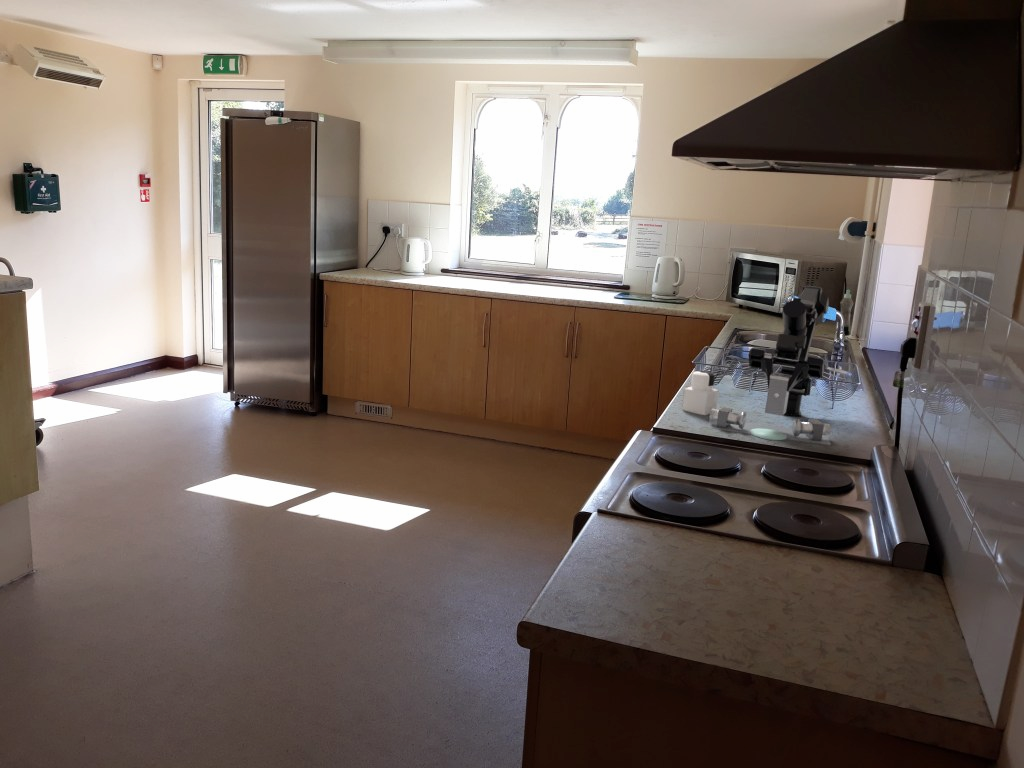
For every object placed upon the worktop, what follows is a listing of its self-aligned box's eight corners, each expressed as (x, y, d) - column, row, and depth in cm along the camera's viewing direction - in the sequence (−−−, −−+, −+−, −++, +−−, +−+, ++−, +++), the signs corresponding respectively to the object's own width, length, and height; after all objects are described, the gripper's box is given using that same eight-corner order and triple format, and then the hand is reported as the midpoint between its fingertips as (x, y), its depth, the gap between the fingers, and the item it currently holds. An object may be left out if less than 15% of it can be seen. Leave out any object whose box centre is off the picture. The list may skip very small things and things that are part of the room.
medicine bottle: (692, 409, 233) (698, 367, 230) (715, 414, 229) (721, 372, 226) (680, 413, 228) (686, 371, 225) (704, 418, 223) (709, 376, 221)
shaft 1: (744, 427, 213) (747, 410, 212) (740, 431, 210) (742, 414, 208) (712, 421, 217) (715, 404, 216) (707, 425, 214) (709, 407, 212)
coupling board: (708, 421, 221) (709, 416, 221) (825, 436, 214) (826, 432, 214) (707, 434, 208) (707, 429, 208) (831, 452, 201) (832, 447, 201)
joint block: (768, 408, 216) (773, 372, 214) (786, 412, 214) (792, 374, 212) (764, 412, 212) (770, 375, 210) (782, 416, 210) (788, 378, 208)
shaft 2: (796, 439, 206) (799, 421, 205) (790, 434, 211) (793, 416, 210) (830, 441, 206) (833, 424, 205) (823, 436, 211) (826, 419, 210)
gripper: (755, 317, 215) (739, 364, 208) (829, 327, 207) (816, 377, 200) (757, 343, 224) (742, 389, 217) (828, 353, 216) (815, 402, 209)
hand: (778, 388), depth 211 cm, fingers closed on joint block, 4 cm apart
